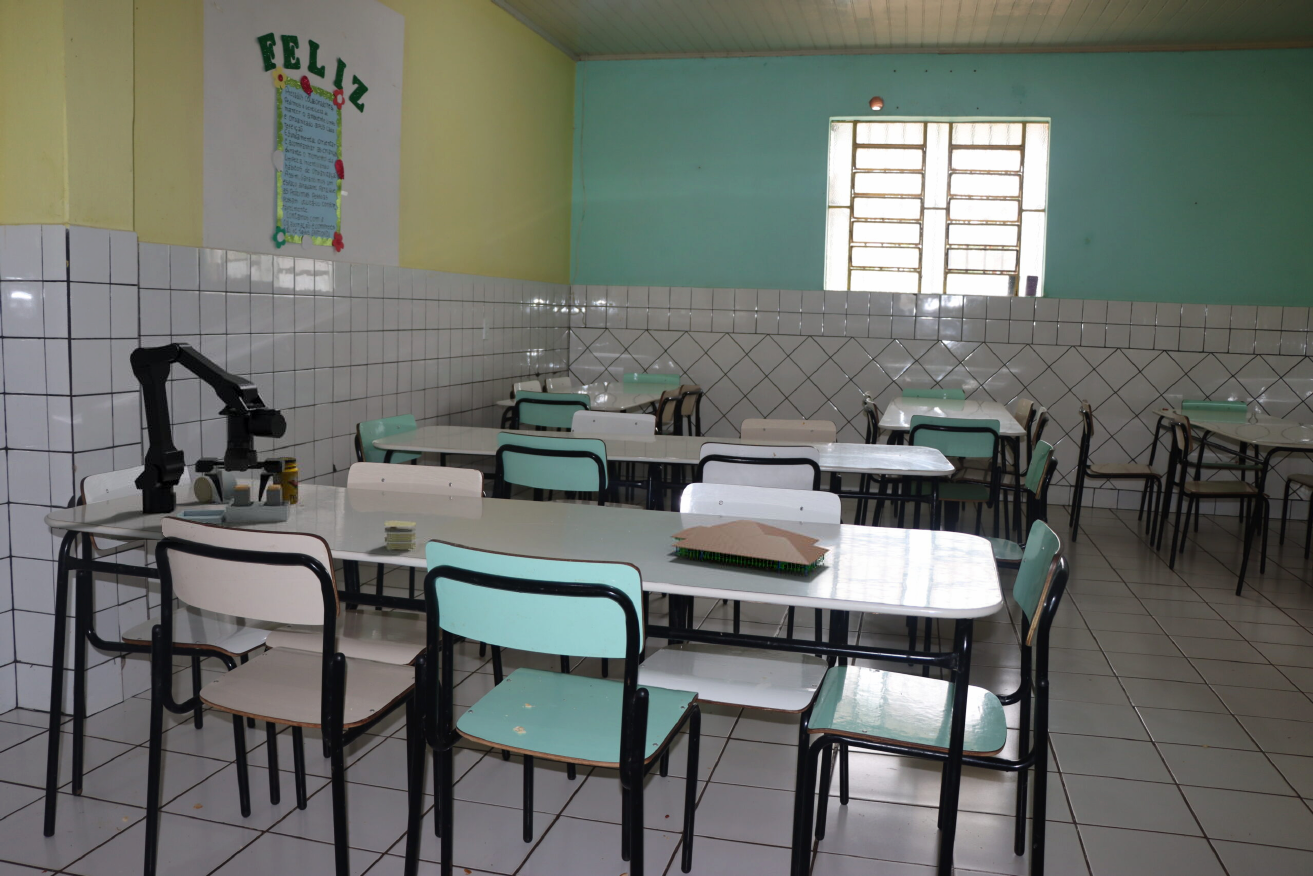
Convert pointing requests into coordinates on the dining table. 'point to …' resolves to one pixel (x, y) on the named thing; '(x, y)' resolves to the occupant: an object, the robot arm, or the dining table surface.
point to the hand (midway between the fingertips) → (241, 501)
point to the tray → (204, 515)
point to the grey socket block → (257, 512)
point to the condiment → (288, 481)
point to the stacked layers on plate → (400, 535)
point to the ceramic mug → (208, 492)
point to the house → (751, 543)
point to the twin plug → (274, 495)
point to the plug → (242, 495)
